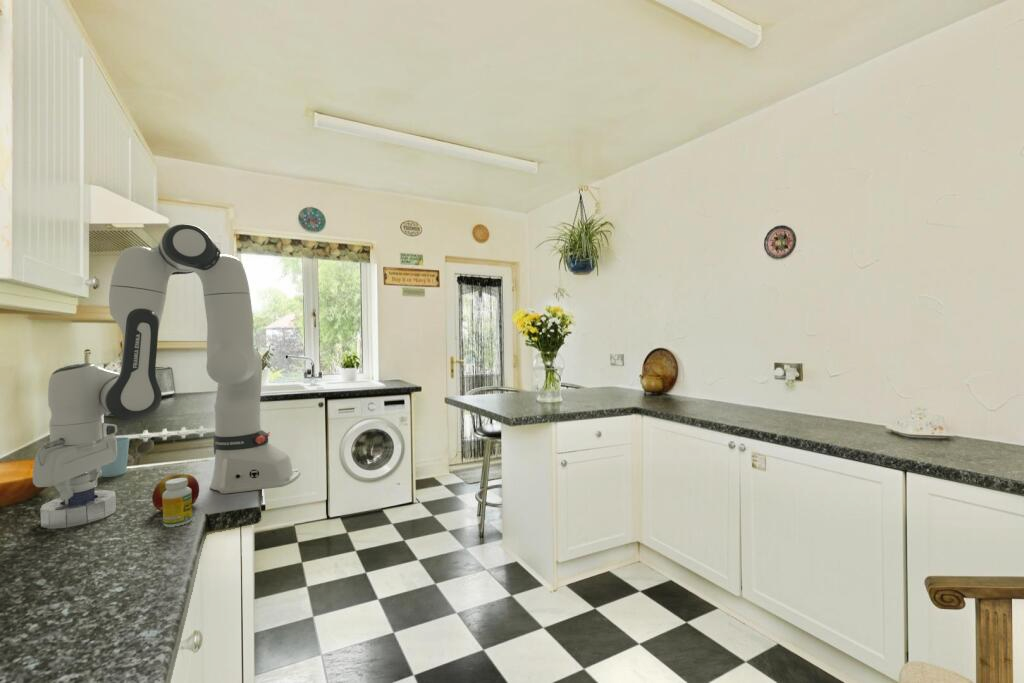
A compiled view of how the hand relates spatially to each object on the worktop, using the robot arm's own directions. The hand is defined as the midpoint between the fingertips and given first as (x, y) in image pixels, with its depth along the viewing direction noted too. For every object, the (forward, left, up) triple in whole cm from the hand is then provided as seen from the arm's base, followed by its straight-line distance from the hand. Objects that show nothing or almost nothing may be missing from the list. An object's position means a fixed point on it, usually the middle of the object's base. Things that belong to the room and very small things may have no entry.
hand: (79, 493), depth 107 cm
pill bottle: (0, 0, -6) cm, 6 cm away
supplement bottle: (-25, +8, -6) cm, 27 cm away
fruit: (-20, -1, -6) cm, 21 cm away
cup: (+15, -35, -6) cm, 38 cm away
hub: (0, 0, -6) cm, 6 cm away
